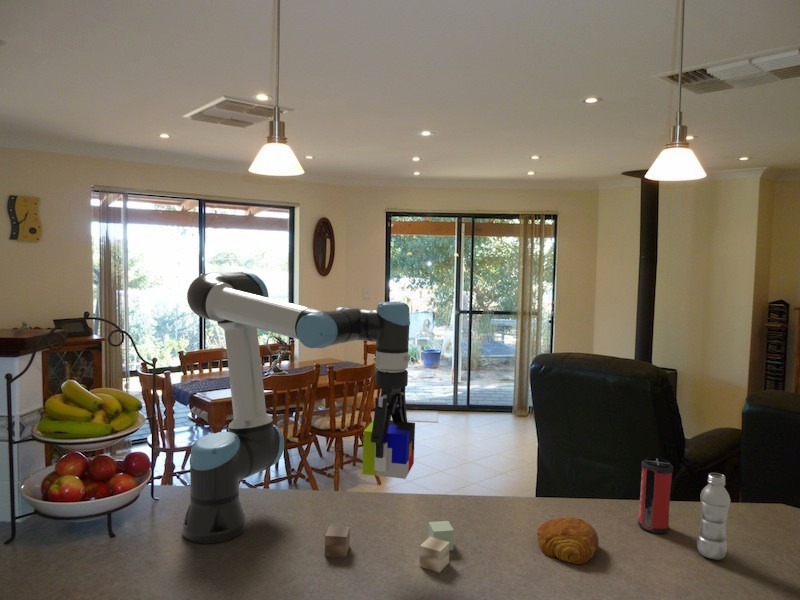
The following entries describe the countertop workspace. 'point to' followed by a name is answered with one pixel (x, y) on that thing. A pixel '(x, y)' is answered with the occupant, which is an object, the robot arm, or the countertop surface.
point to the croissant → (568, 539)
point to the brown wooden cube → (337, 541)
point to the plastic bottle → (713, 518)
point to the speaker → (655, 495)
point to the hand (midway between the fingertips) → (389, 462)
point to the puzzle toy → (391, 450)
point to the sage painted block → (442, 532)
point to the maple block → (434, 554)
